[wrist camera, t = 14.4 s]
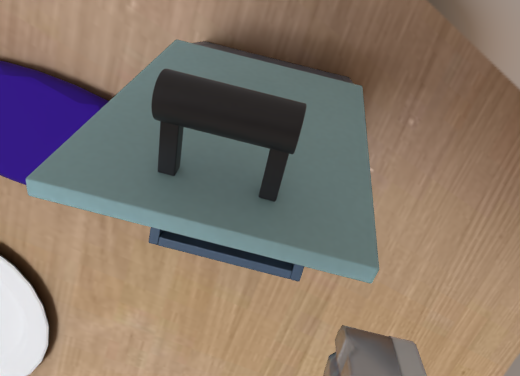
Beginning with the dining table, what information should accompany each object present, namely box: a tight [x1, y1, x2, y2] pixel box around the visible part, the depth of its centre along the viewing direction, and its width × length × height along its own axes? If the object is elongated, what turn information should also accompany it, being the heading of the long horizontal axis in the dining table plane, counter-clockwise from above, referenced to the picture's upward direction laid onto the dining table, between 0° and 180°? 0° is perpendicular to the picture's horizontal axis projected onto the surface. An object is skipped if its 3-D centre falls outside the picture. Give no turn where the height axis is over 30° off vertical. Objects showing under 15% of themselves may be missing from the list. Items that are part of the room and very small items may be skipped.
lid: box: [26, 40, 379, 283], centre depth 20 cm, size 16×13×5 cm
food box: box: [149, 41, 354, 281], centre depth 35 cm, size 16×13×8 cm
